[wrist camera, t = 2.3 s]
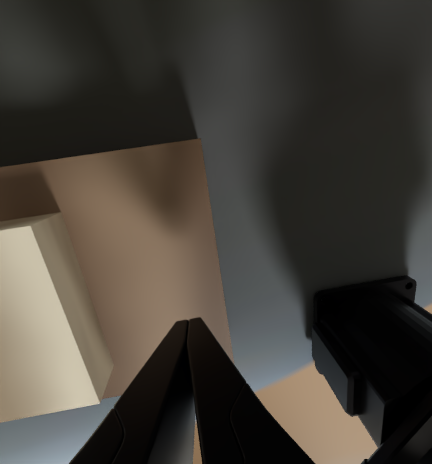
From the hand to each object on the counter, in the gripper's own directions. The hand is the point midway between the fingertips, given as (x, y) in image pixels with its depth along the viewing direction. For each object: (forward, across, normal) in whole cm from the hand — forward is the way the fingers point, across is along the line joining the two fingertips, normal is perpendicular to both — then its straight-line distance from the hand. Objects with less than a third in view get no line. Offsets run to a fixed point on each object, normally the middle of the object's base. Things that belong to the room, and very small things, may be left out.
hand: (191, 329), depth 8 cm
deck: (+6, +5, 0) cm, 8 cm away
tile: (+3, +8, 0) cm, 8 cm away
